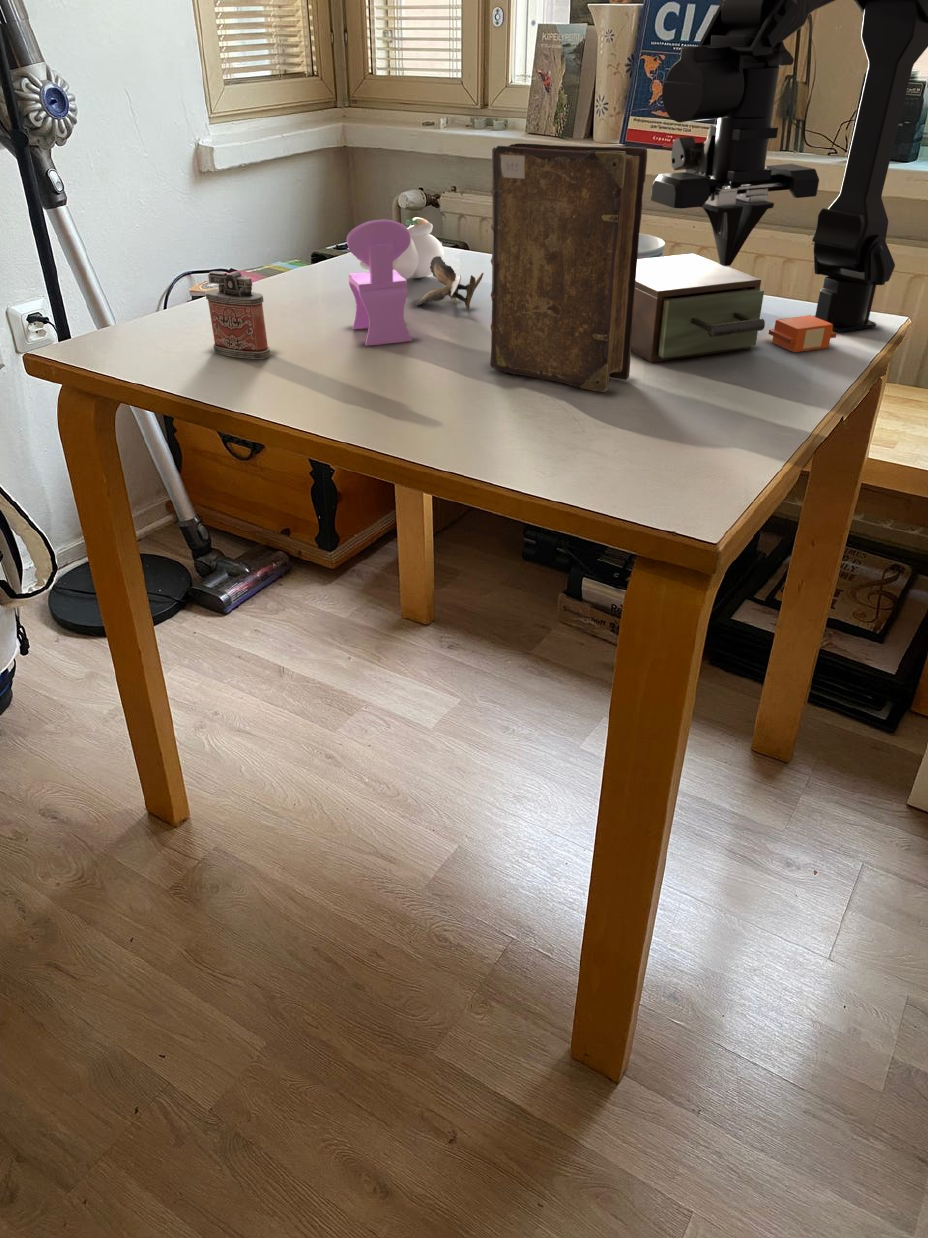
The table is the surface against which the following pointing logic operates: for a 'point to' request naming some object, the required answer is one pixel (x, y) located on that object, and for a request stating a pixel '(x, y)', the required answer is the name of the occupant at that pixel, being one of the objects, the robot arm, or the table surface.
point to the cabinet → (676, 294)
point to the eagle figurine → (449, 284)
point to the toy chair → (379, 280)
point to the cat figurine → (417, 251)
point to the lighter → (237, 316)
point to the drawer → (710, 321)
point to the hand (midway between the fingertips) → (725, 265)
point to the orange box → (802, 333)
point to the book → (565, 260)
